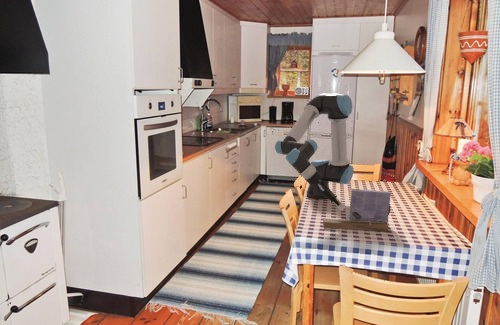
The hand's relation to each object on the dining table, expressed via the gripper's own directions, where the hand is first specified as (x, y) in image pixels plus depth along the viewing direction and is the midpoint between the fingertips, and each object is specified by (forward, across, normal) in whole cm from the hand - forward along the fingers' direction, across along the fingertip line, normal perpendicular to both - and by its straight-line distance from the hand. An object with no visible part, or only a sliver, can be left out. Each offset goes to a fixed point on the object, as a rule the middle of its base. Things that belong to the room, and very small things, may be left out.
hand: (343, 209), depth 187 cm
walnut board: (+9, +5, -2) cm, 11 cm away
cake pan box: (+15, 0, +4) cm, 15 cm away
